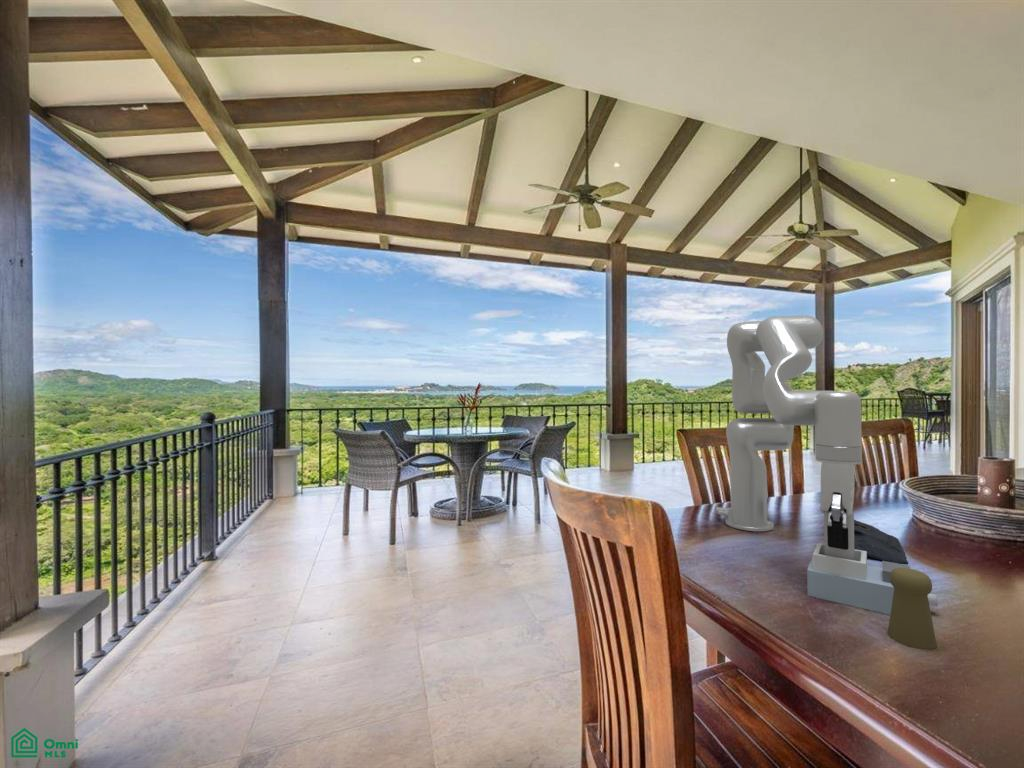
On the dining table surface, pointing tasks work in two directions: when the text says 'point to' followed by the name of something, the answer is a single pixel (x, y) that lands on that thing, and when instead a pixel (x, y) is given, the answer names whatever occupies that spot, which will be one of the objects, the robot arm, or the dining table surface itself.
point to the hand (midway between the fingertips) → (839, 541)
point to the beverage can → (850, 552)
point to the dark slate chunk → (878, 544)
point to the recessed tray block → (853, 581)
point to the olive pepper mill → (911, 609)
